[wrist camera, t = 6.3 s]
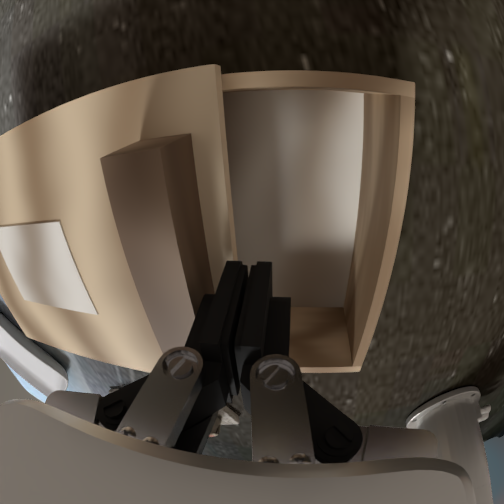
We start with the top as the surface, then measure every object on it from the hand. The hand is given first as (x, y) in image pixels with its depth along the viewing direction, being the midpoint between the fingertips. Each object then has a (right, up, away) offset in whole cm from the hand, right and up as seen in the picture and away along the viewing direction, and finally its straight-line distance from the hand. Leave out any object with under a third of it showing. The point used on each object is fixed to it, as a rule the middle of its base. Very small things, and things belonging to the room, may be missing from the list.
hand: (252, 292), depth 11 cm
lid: (-11, +1, +3) cm, 11 cm away
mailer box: (-3, +4, +7) cm, 9 cm away
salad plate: (-42, -17, +27) cm, 53 cm away
